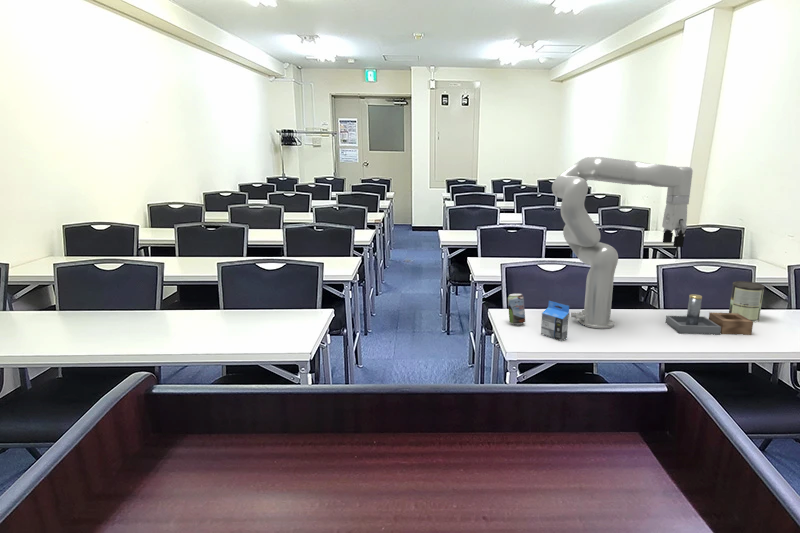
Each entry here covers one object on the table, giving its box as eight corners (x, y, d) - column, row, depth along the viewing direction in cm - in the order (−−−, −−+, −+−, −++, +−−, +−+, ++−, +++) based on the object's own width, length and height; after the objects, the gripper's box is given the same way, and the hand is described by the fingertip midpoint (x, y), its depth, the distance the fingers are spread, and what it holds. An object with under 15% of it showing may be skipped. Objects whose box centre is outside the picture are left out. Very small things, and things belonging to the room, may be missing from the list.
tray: (678, 333, 174) (679, 325, 173) (665, 322, 186) (666, 315, 185) (720, 334, 172) (721, 326, 172) (703, 323, 184) (704, 316, 183)
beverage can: (519, 327, 181) (520, 297, 179) (503, 323, 187) (504, 293, 184) (528, 324, 185) (530, 294, 183) (512, 319, 191) (514, 290, 188)
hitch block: (721, 333, 173) (723, 320, 172) (707, 324, 183) (709, 312, 182) (751, 334, 172) (753, 321, 171) (735, 325, 181) (737, 313, 180)
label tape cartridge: (540, 334, 174) (541, 302, 172) (546, 332, 177) (548, 300, 174) (561, 341, 167) (563, 307, 165) (567, 338, 170) (569, 305, 167)
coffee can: (722, 314, 195) (726, 281, 192) (747, 314, 195) (752, 281, 192) (738, 322, 185) (744, 287, 182) (765, 322, 185) (771, 287, 182)
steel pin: (688, 327, 177) (692, 297, 175) (683, 324, 181) (687, 294, 178) (699, 328, 177) (704, 297, 174) (694, 324, 181) (699, 294, 178)
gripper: (657, 198, 188) (653, 241, 192) (677, 201, 171) (671, 248, 175) (678, 198, 187) (673, 241, 191) (699, 201, 170) (693, 248, 174)
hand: (672, 244), depth 183 cm, fingers open, 9 cm apart
